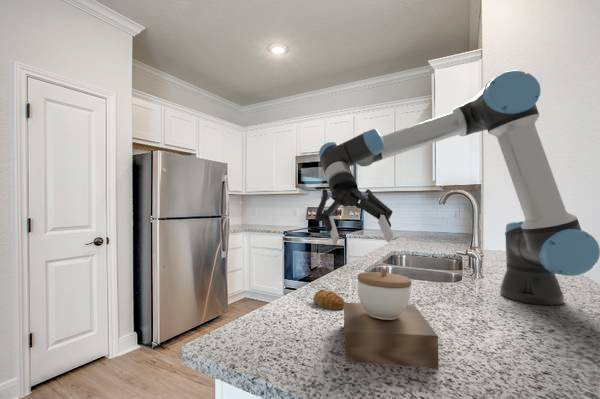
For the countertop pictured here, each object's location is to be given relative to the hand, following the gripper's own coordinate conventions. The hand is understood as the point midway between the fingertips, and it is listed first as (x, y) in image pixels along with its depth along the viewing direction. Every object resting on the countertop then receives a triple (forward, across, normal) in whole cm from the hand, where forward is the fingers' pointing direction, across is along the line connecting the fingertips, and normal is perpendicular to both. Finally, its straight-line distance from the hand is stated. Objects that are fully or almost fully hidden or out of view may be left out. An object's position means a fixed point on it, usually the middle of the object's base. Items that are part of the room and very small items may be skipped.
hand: (363, 239), depth 68 cm
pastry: (+2, +3, -27) cm, 27 cm away
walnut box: (+21, 0, -9) cm, 22 cm away
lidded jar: (+16, 0, -5) cm, 17 cm away
